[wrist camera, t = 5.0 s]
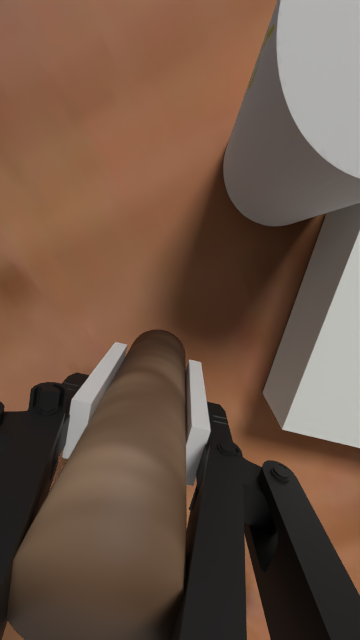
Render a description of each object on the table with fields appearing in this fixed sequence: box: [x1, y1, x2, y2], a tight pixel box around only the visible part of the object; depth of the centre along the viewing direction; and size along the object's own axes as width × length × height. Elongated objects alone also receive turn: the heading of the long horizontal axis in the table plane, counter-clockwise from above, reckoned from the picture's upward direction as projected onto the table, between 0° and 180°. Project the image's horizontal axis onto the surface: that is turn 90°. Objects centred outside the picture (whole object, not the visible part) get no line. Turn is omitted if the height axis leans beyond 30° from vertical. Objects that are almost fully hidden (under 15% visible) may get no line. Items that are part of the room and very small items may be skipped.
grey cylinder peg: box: [223, 0, 360, 226], centre depth 13 cm, size 8×8×12 cm
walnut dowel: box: [7, 330, 187, 640], centre depth 12 cm, size 4×4×14 cm
